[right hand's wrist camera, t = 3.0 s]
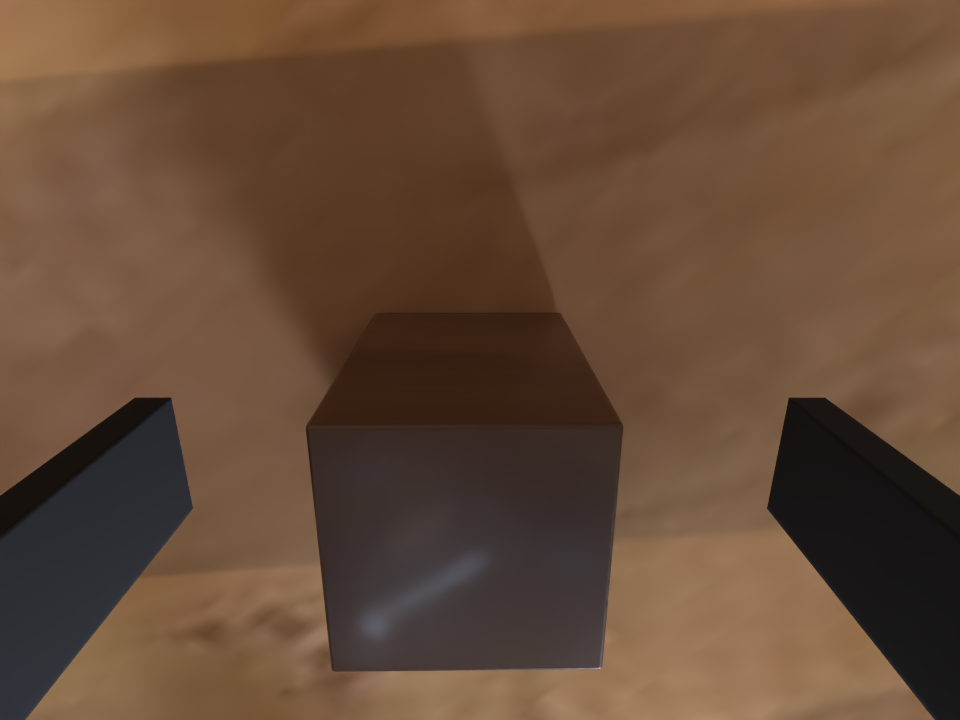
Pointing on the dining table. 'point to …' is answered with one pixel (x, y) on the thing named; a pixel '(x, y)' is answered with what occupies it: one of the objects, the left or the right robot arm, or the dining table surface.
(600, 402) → the walnut block
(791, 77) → the dining table surface
